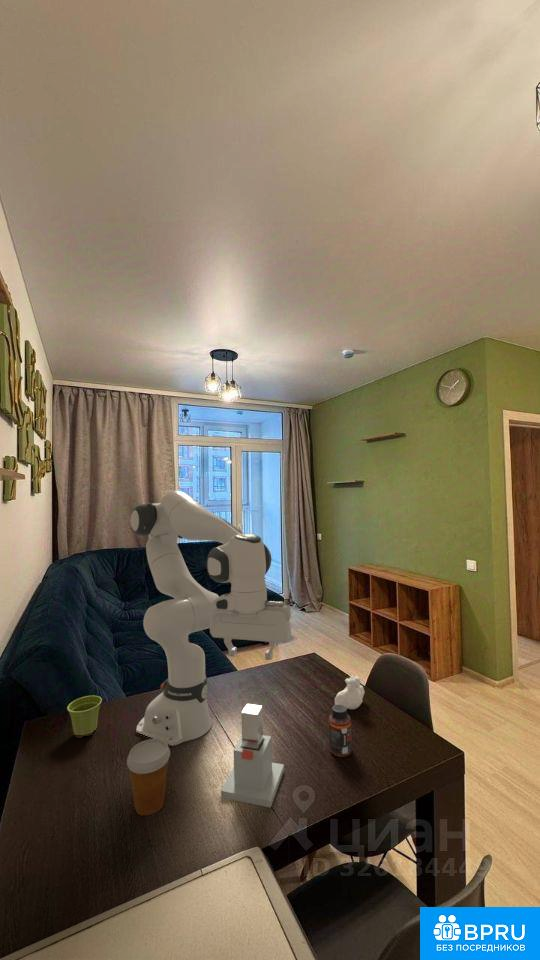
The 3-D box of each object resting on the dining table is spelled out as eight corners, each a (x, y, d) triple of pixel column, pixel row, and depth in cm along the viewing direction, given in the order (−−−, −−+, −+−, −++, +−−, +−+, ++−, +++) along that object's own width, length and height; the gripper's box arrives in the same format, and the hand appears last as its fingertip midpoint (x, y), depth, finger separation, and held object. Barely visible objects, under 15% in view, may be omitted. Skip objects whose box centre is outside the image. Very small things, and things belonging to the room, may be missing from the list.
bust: (338, 719, 123) (352, 700, 118) (325, 696, 128) (338, 677, 123) (365, 707, 129) (380, 688, 124) (351, 686, 135) (365, 667, 129)
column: (243, 781, 92) (241, 712, 93) (248, 769, 96) (247, 703, 97) (259, 784, 91) (257, 714, 92) (264, 772, 95) (262, 705, 96)
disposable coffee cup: (147, 829, 82) (146, 770, 82) (118, 810, 87) (117, 755, 87) (179, 798, 90) (178, 745, 90) (151, 783, 95) (151, 733, 95)
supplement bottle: (352, 759, 101) (350, 715, 102) (329, 757, 102) (327, 713, 103) (352, 745, 107) (350, 703, 107) (330, 743, 108) (328, 701, 109)
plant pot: (60, 738, 114) (59, 708, 114) (86, 721, 122) (86, 693, 123) (83, 745, 110) (83, 714, 110) (109, 727, 119) (108, 698, 119)
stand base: (221, 797, 90) (220, 752, 90) (239, 762, 101) (238, 723, 102) (270, 807, 86) (269, 761, 87) (284, 770, 98) (282, 730, 98)
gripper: (293, 598, 96) (294, 655, 95) (216, 595, 101) (218, 649, 101) (286, 605, 90) (288, 666, 89) (206, 601, 95) (207, 658, 95)
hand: (250, 657), depth 95 cm, fingers open, 8 cm apart
